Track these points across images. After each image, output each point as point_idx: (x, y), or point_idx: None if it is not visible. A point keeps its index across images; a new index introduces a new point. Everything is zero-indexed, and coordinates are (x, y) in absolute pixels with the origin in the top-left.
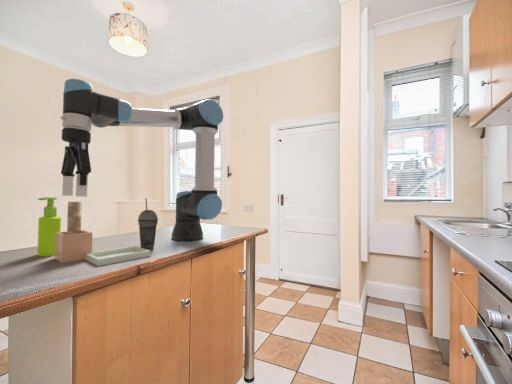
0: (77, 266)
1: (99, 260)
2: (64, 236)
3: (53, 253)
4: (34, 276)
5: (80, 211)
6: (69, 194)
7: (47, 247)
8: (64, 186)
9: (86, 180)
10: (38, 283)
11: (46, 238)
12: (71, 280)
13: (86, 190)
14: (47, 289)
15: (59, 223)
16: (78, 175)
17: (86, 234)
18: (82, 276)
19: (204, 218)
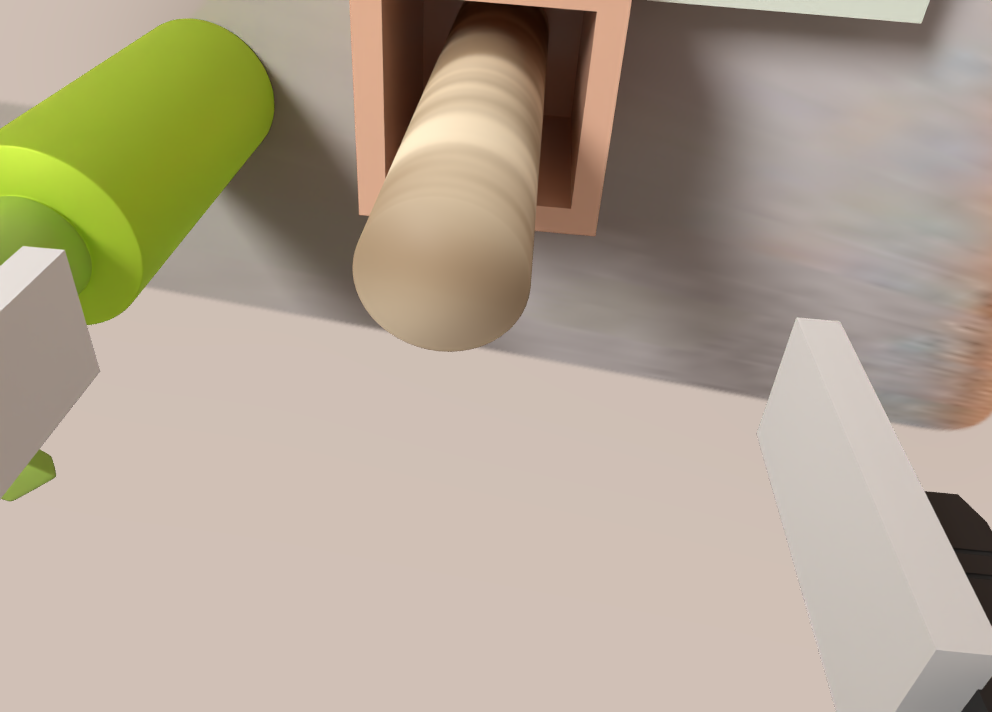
0: (699, 73)
1: (923, 9)
2: (596, 218)
3: (261, 94)
4: (704, 293)
5: (519, 168)
6: (68, 305)
7: (244, 153)
8: (10, 467)
9: (937, 556)
10: (851, 316)
11: (218, 194)
12: (970, 212)
13: (868, 397)
14: (987, 320)
15: (122, 151)
16: None
17: (625, 39)
18: (963, 147)
19: None
